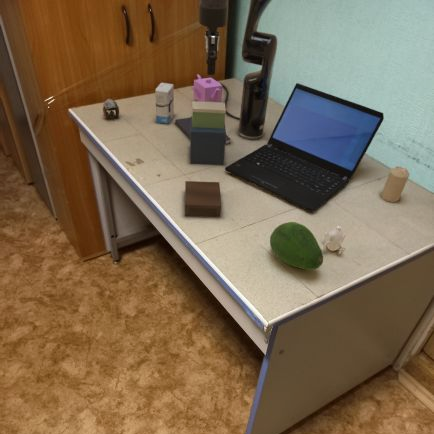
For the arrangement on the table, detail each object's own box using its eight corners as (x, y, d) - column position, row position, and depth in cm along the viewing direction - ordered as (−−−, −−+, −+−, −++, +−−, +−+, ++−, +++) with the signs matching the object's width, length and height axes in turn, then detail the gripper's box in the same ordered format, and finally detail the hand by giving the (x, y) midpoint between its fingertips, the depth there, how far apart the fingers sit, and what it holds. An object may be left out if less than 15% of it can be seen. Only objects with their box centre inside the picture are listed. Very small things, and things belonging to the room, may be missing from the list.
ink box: (168, 124, 159) (167, 92, 150) (155, 122, 159) (154, 90, 151) (174, 115, 164) (174, 83, 156) (162, 113, 165) (161, 81, 157)
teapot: (181, 98, 177) (181, 73, 170) (208, 93, 182) (210, 69, 175) (202, 115, 166) (203, 89, 159) (230, 110, 172) (232, 84, 165)
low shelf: (185, 192, 127) (185, 181, 124) (218, 193, 127) (219, 182, 125) (184, 216, 118) (185, 204, 115) (220, 217, 119) (221, 205, 116)
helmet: (117, 117, 163) (113, 98, 160) (123, 116, 156) (119, 96, 153) (103, 120, 160) (98, 100, 158) (108, 119, 154) (103, 98, 151)
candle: (400, 195, 133) (412, 166, 126) (397, 203, 130) (410, 174, 123) (382, 190, 135) (393, 161, 128) (379, 198, 131) (391, 169, 124)
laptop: (223, 172, 136) (228, 112, 122) (286, 136, 158) (296, 82, 144) (311, 215, 122) (328, 153, 109) (367, 169, 144) (387, 112, 130)
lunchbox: (191, 119, 137) (192, 101, 133) (223, 121, 138) (224, 102, 134) (191, 127, 133) (192, 108, 129) (224, 129, 134) (225, 110, 130)
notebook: (175, 123, 159) (198, 149, 146) (175, 119, 158) (198, 144, 145) (205, 119, 164) (231, 143, 151) (205, 115, 163) (231, 139, 150)
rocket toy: (321, 253, 111) (328, 229, 105) (322, 240, 114) (329, 216, 109) (341, 257, 110) (350, 233, 104) (342, 244, 114) (350, 220, 108)
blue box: (190, 147, 147) (190, 116, 139) (221, 148, 148) (224, 117, 140) (190, 163, 139) (190, 131, 131) (223, 164, 140) (226, 132, 132)
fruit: (327, 272, 105) (338, 241, 98) (297, 286, 101) (306, 255, 94) (289, 239, 114) (296, 208, 107) (259, 251, 110) (265, 219, 102)
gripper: (229, 11, 108) (224, 78, 119) (226, -2, 117) (221, 61, 129) (199, 9, 107) (197, 77, 118) (199, -3, 117) (197, 60, 128)
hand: (210, 69), depth 124 cm, fingers open, 8 cm apart
